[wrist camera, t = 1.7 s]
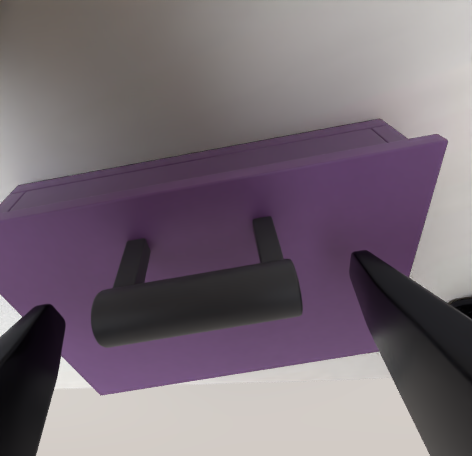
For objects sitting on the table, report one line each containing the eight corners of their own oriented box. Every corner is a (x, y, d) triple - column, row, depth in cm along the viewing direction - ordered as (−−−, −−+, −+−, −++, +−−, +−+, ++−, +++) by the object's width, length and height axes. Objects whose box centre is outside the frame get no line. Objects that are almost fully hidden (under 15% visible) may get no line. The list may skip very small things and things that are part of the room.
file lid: (-51, 221, 10) (-177, 335, 7) (438, 132, 10) (563, 209, 6) (103, 385, 18) (79, 478, 15) (383, 340, 18) (427, 426, 14)
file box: (17, 184, 14) (-34, 238, 11) (380, 117, 13) (431, 154, 10) (117, 328, 21) (103, 384, 18) (357, 289, 21) (383, 339, 18)
